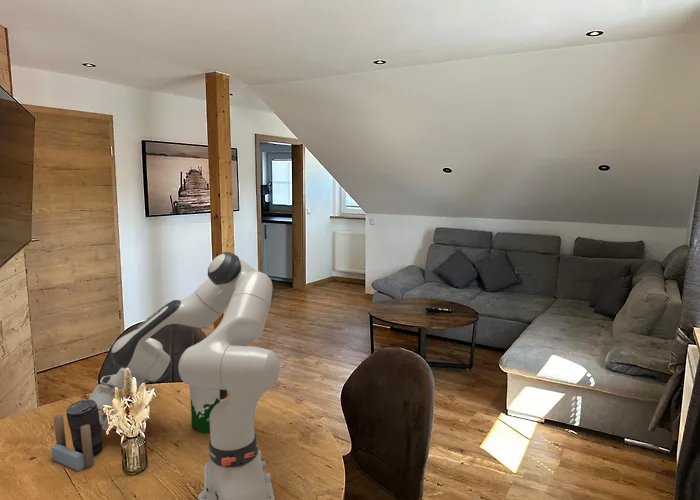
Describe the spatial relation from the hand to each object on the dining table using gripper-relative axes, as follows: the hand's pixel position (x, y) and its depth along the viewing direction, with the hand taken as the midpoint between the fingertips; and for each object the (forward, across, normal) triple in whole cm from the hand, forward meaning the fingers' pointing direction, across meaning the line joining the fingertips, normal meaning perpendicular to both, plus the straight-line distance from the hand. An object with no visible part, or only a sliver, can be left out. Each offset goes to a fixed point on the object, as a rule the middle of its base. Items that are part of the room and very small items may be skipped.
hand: (100, 428), depth 150 cm
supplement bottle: (-26, -8, -34) cm, 43 cm away
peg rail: (+11, 0, +3) cm, 11 cm away
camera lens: (+7, 0, -1) cm, 7 cm away
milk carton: (-13, -20, -21) cm, 32 cm away
